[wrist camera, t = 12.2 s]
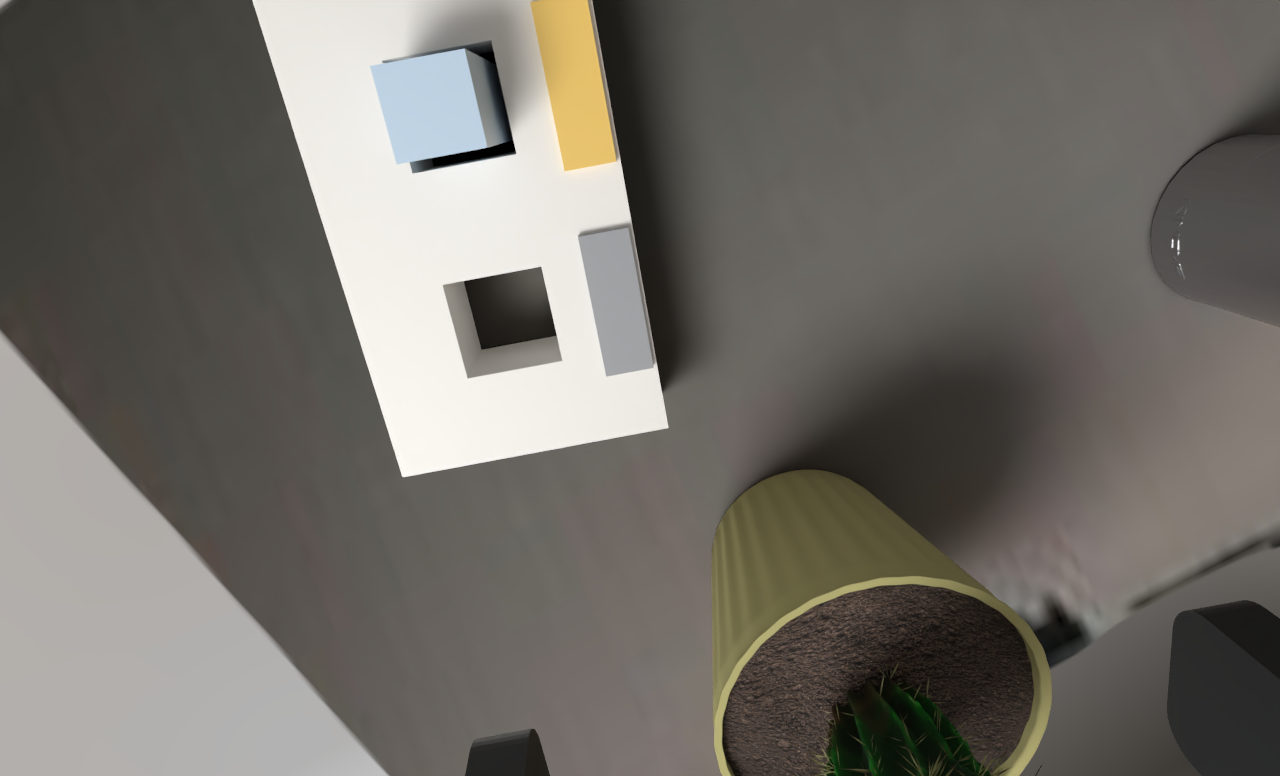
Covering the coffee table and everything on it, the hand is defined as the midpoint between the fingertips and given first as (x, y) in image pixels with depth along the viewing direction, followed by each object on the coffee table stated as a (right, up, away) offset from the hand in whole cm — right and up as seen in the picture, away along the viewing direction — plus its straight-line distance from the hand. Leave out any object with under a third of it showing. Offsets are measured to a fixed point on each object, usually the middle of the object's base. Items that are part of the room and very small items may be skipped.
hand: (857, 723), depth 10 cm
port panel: (-10, +14, +31) cm, 35 cm away
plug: (-11, +18, +29) cm, 36 cm away
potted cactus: (+7, -6, +39) cm, 40 cm away
